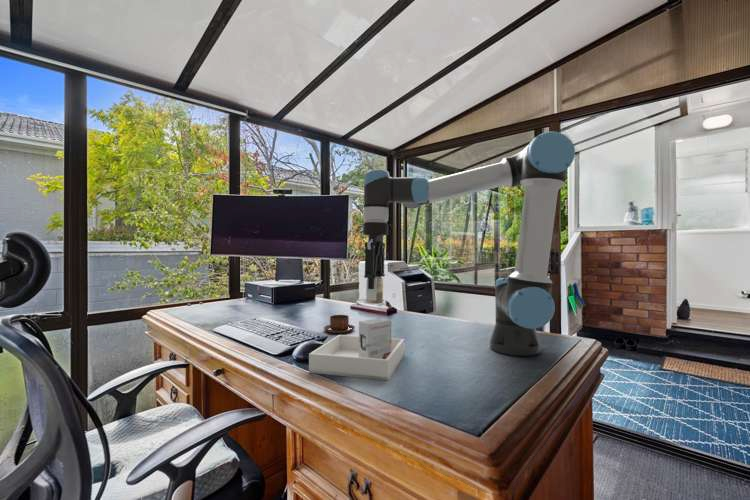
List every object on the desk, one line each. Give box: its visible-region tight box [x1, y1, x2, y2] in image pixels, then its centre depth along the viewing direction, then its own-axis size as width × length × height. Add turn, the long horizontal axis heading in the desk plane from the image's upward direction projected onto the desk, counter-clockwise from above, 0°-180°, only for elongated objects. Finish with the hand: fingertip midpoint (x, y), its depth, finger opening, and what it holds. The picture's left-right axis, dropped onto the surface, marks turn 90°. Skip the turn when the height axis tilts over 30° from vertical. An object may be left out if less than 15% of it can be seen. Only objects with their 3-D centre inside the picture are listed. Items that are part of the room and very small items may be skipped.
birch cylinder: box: [365, 278, 384, 305], centre depth 108 cm, size 5×5×7 cm
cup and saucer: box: [323, 314, 355, 334], centre depth 140 cm, size 12×12×6 cm
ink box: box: [358, 317, 393, 359], centre depth 100 cm, size 9×5×12 cm, turn 129°
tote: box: [308, 334, 406, 382], centre depth 101 cm, size 22×22×5 cm
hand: (374, 298), depth 108 cm, fingers closed on birch cylinder, 5 cm apart
